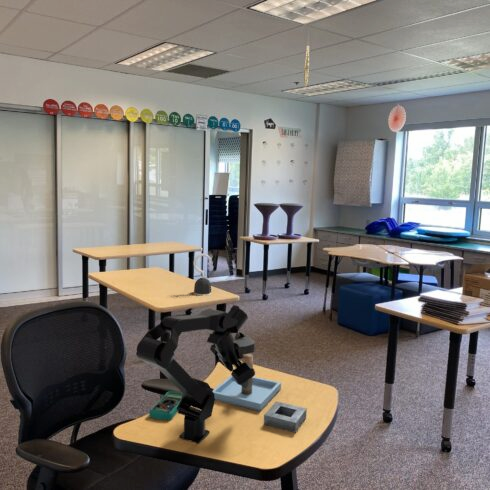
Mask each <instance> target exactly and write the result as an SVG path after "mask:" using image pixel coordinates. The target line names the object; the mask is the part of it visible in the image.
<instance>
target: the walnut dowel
mask: <svg viewBox="0 0 490 490" xmlns="http://www.w3.org/2000/svg"><path fill="white" fill-rule="evenodd" d="M243 357H244V358H242V359H241V360H242V361H241V362H242V364H243V363H245V362H246V363H249V364H250V365H251V366H252V367H253V368H254V355H253V353H248V354H244V355H243ZM253 377H254V376H253ZM253 377H251V378H250V379H248V387H246V388H244V387H242V389H241V393H242V394H244V395H250V394H252V378H253Z"/></svg>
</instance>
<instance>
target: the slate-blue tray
mask: <svg viewBox="0 0 490 490" xmlns="http://www.w3.org/2000/svg"><path fill="white" fill-rule="evenodd" d="M213 389H214V390H213V392H214V395H215V401H218V402H222V403H225V404H229V405H234V406H237V407H241V408H246V409H249V410H254V411H258V412H262V410H264V409H265V407H267V405H268V404H269V403H270V402H271V401H272V399H274V398H275V397H276V396H277V395H278V393H279V392H280V391H281V390H282V382H280V381H276V380H275V381H274V380H271V379H267V378H261V377H257V376H253V378H252V394H250V395H244V394H242V393H241V389H242V386H241V385H238V384H237V383H236V382H235V381H234V379H233V377H232V375H231V374H230V375H229V377H227V378H226V379H225V380H223V382H220V384H218V385H217V386H216V387H215V388H213Z"/></svg>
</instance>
